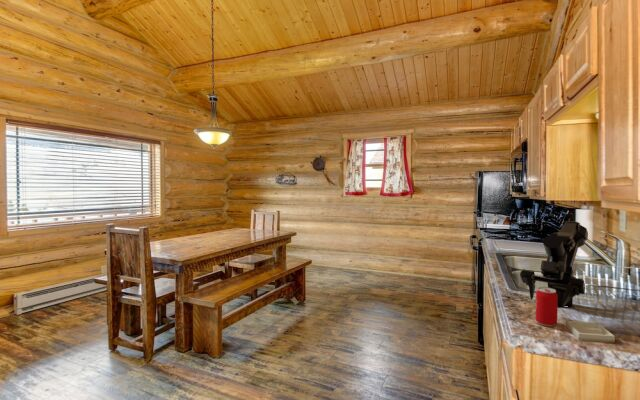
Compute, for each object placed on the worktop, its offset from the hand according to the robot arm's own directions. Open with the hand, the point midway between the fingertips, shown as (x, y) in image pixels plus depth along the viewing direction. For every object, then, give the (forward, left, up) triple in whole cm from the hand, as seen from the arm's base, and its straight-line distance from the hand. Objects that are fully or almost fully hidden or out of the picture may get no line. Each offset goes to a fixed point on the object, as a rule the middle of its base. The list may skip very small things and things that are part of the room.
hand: (546, 302), depth 118 cm
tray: (-10, +6, -8) cm, 14 cm away
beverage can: (0, 0, -8) cm, 8 cm away
